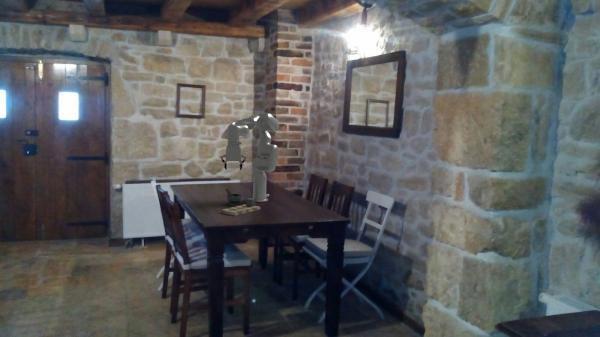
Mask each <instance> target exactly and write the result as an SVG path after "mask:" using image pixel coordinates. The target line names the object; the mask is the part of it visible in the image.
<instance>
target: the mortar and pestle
mask: <svg viewBox="0 0 600 337" xmlns="http://www.w3.org/2000/svg"><path fill="white" fill-rule="evenodd" d="M225 191H226V193H227V200H228V202H229V206H232V207H236V206H239V203H240V201H241V199H242V195H241V194H240V193H233V192H231V190H230V188H229V187H227V188H226V189H225Z"/></svg>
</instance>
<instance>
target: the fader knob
mask: <svg viewBox="0 0 600 337" xmlns="http://www.w3.org/2000/svg"><path fill="white" fill-rule="evenodd" d="M252 198H253V197H252ZM252 198H251V197H250V198H249V197H248V198H246V199H245V204H246V206H256V199H252Z"/></svg>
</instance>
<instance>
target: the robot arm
mask: <svg viewBox="0 0 600 337" xmlns="http://www.w3.org/2000/svg"><path fill="white" fill-rule="evenodd" d="M279 123H280V122H279V120H278V119H276V118H275V117H274V116H273V115H272V114H271V113H269V112H256V113H254V114H252V115H251V116H249V117H245V118H242V119H238V120H235V121H232V123H230V124H229V125H228V126H227V145H226V150H225V154H223V155H221V156H220V157H219V158H220V160H221V162H222V163H223V166H224V169H225V171H226V170H228V163H227V162H239V170H240V171H241V170H242V169H243V164H244V162H246V160H247V159H248V157H247V156H246V155H243V154H242V148H241V145H242V141H240V137H245V136H247V135H248V134H249V131H251V130H254V129H255V128H257V131H258V132H259V133H258V134H259V141H258V146H257V150H256V151H257V152H256V153H257V155H258V156H260V157H255V158H254V159H253V160H252V165H251V166H252V171H253V172H252V173H253V174H252V175H253V179H252V180H253V186H252V187H253V188H252V199H256V202H257V203H259V202H260V203H261V202H262V203H265V202H268V201H269V198H268V197H270V194H269V193H267V174H266V173H265V172H269V173H270V172H271V173H272V172H275V171H276V167H277V162H278V158H279V154H280V153H279V152H280V149H279V147H278V145H276V144H274V143H273V144H271V143H272V136H271V134H270V133H269V132H273V133H274V132H277V131H278V130H279V129H280V124H279ZM224 158H225V159H224ZM242 158H243V160H242Z"/></svg>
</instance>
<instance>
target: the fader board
mask: <svg viewBox="0 0 600 337" xmlns="http://www.w3.org/2000/svg"><path fill="white" fill-rule="evenodd" d="M259 210H261V205H260V206H259V205H255V206H246V203H245V204H242V205H241V204H240V205H236V206H232V207H229V208H228V207H227V208H223V209H220V214H225V215H230V216H239V215H243V214H246V213H250V212H252V213H253V212H256V211H259Z"/></svg>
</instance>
